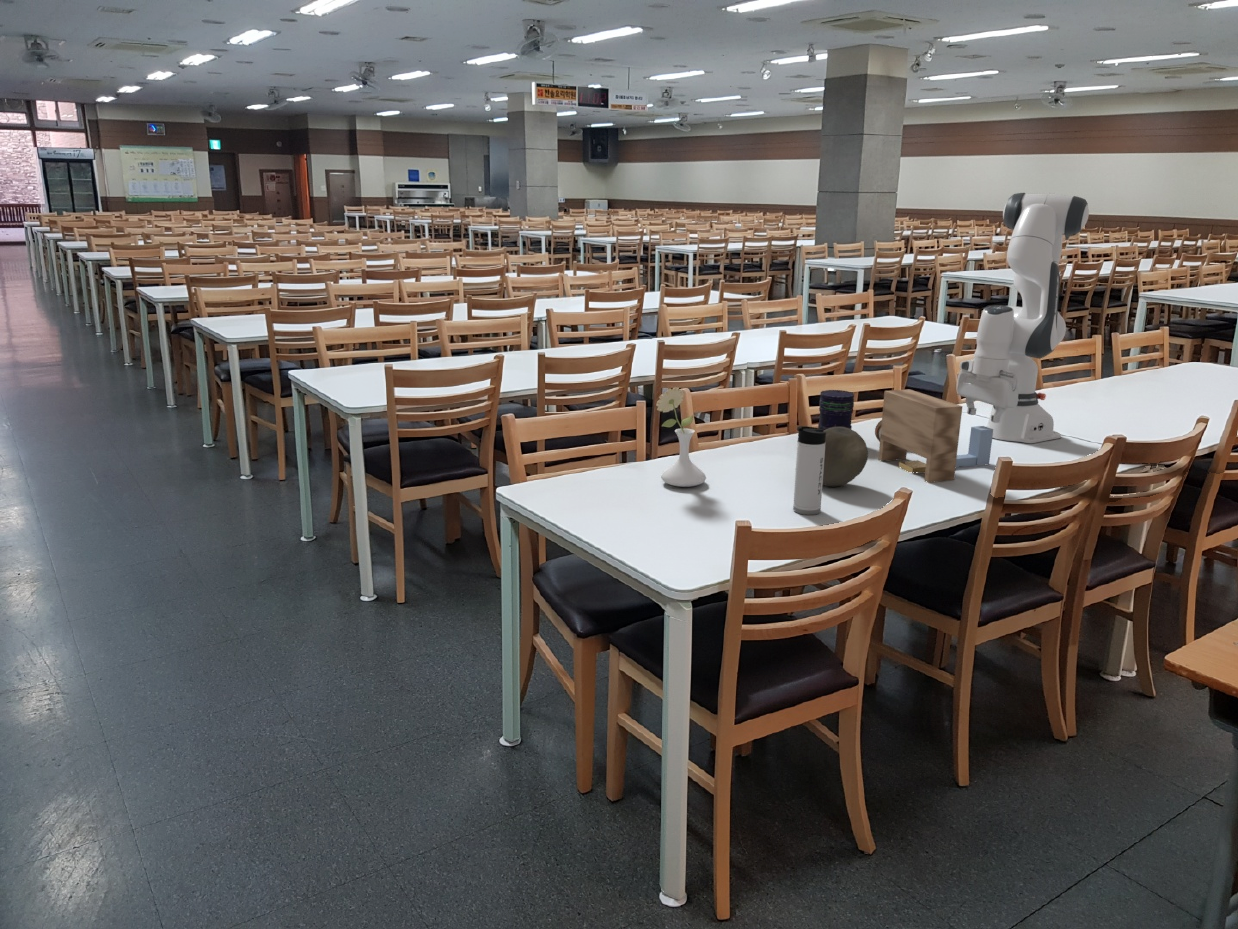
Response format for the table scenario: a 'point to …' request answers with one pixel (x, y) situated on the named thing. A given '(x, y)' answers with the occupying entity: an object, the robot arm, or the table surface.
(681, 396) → the flower in vase
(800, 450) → the travel mug
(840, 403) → the storage jar
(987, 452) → the blue l-shaped bracket
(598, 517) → the table surface
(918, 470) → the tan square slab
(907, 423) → the wooden bridge block
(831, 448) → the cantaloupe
